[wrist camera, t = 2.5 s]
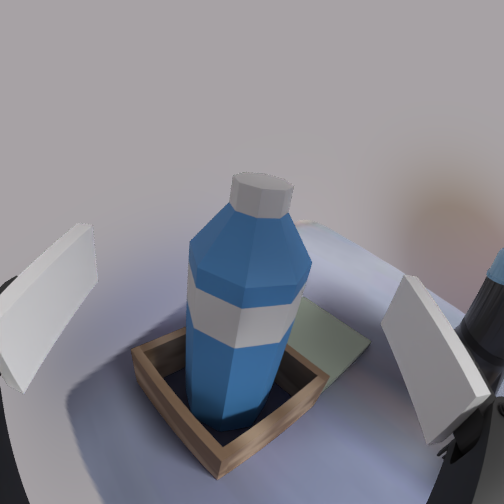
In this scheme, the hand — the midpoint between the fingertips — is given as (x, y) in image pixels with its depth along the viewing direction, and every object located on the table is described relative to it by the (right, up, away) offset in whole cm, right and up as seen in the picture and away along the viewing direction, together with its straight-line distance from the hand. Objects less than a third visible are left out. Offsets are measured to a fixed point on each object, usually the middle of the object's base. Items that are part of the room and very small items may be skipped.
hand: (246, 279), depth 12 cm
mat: (+9, -12, +30) cm, 34 cm away
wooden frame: (-3, -16, +20) cm, 26 cm away
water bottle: (-3, -16, +20) cm, 26 cm away
